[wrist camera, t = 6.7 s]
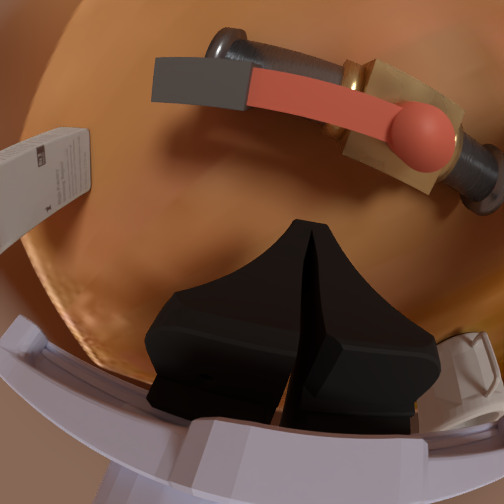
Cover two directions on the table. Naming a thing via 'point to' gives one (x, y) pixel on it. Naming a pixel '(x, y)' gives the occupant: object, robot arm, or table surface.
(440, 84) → the table surface
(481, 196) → the pipe
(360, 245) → the table surface
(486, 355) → the mug
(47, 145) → the skincare box
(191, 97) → the lever
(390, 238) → the table surface
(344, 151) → the valve body
